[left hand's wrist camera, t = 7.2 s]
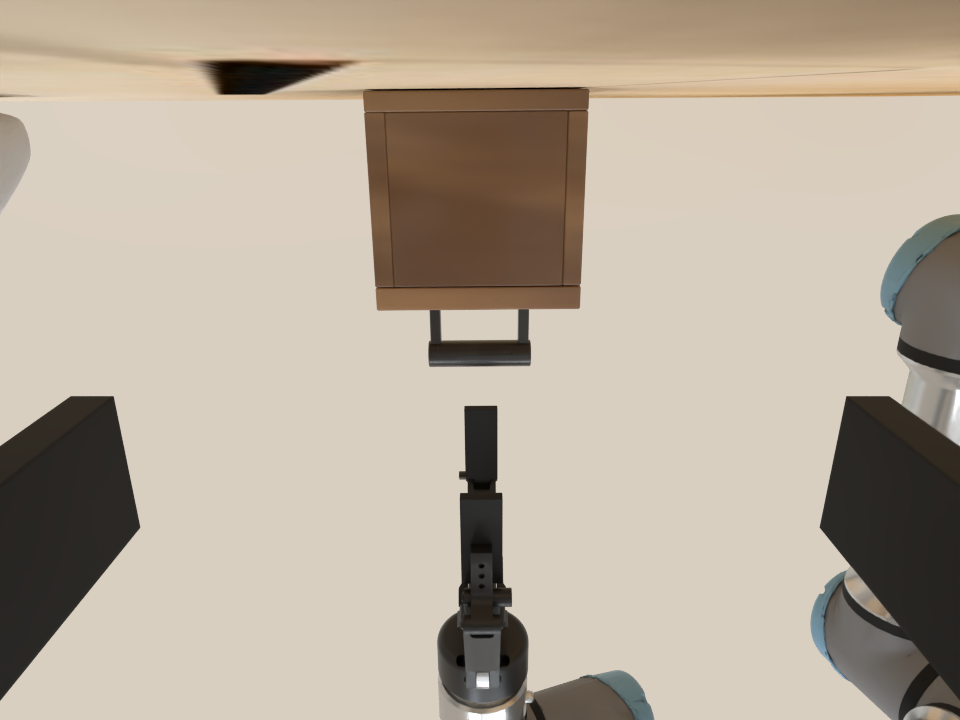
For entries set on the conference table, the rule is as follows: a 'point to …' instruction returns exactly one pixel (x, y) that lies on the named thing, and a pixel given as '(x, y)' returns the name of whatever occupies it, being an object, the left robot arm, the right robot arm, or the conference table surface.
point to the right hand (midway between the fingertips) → (480, 445)
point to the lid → (479, 299)
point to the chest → (477, 186)
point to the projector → (12, 155)
